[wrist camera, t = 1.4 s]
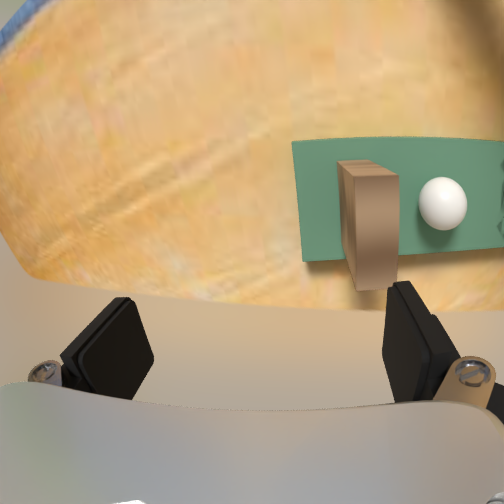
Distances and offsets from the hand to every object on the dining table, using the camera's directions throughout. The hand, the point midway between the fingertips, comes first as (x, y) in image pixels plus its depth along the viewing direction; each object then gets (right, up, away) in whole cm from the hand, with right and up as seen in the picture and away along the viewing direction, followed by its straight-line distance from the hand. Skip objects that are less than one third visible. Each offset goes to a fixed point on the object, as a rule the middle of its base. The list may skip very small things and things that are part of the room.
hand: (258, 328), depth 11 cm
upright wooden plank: (+10, +7, +18) cm, 22 cm away
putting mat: (+21, +9, +19) cm, 30 cm away
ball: (+18, +7, +14) cm, 24 cm away
